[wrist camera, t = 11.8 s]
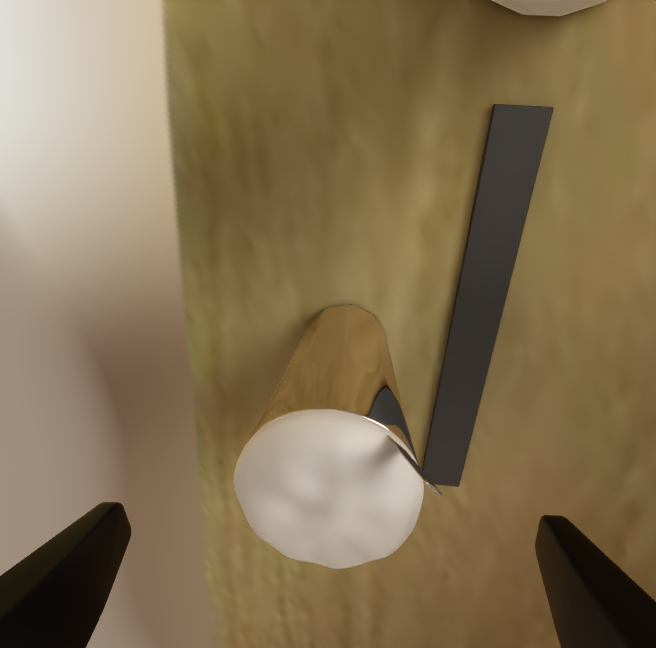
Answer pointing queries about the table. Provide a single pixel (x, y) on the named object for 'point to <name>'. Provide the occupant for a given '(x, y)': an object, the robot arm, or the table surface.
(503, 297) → the tape line
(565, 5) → the spray bottle
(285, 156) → the table surface
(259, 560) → the table surface
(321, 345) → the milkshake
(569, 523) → the robot arm
